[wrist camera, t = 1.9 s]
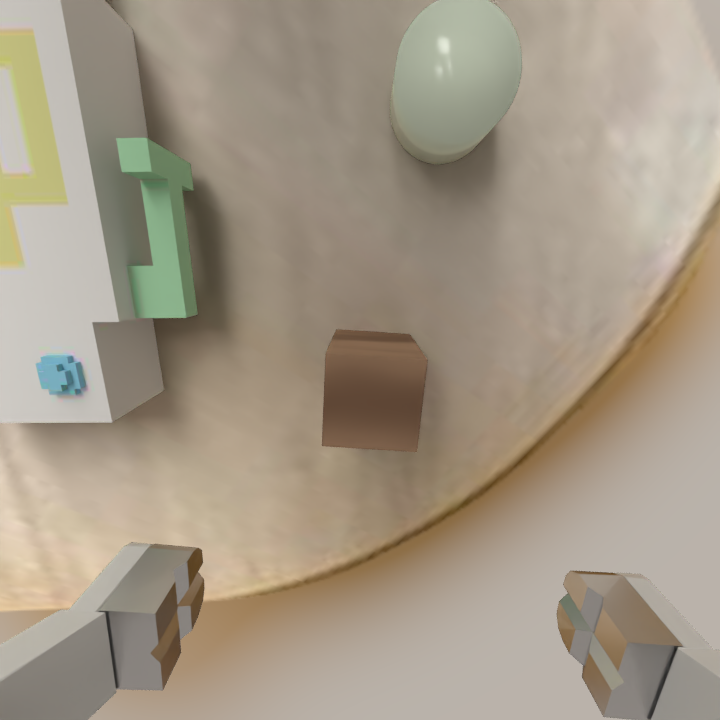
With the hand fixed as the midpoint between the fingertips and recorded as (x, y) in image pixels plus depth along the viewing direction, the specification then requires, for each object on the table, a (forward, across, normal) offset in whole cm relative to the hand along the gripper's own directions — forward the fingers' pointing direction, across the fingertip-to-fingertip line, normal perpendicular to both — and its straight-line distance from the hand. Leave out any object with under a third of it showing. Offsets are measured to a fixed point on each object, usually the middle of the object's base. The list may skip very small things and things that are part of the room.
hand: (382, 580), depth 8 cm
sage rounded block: (+17, -3, -16) cm, 24 cm away
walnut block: (+17, 0, 0) cm, 17 cm away
